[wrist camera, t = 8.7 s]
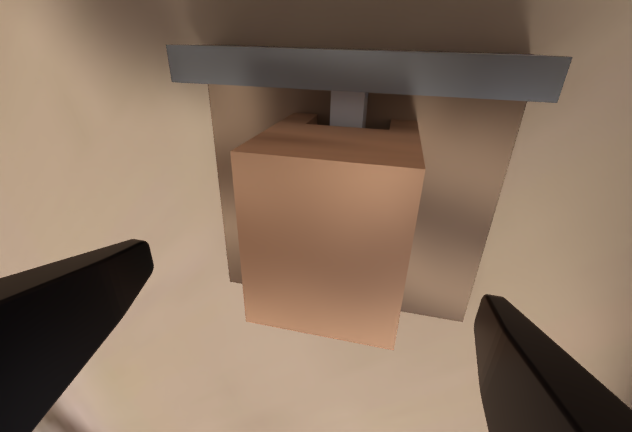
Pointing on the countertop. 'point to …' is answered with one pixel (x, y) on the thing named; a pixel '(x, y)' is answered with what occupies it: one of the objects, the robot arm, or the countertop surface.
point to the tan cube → (328, 226)
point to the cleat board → (376, 113)
